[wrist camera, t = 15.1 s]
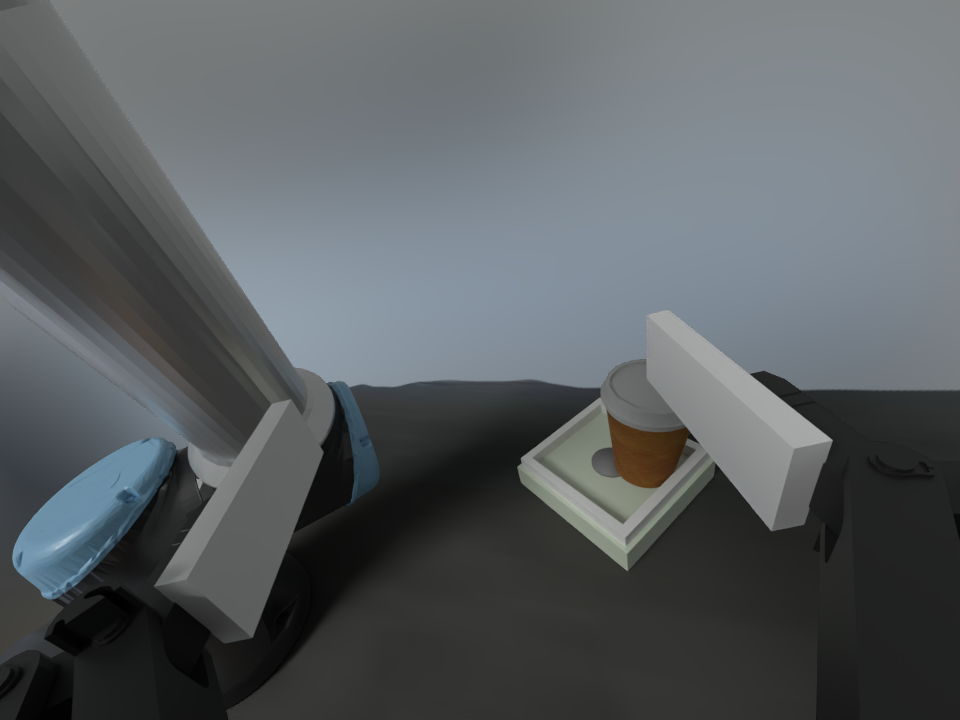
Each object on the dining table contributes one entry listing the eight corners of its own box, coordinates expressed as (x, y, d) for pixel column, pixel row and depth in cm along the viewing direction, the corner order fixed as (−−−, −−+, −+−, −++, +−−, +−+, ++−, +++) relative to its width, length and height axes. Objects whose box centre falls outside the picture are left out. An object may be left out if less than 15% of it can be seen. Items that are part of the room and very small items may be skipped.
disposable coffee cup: (589, 443, 48) (587, 366, 42) (664, 429, 48) (674, 349, 41) (618, 509, 40) (622, 426, 34) (708, 492, 40) (730, 406, 33)
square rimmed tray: (521, 482, 50) (515, 458, 48) (601, 418, 57) (599, 394, 54) (627, 571, 38) (626, 544, 36) (713, 476, 45) (717, 448, 42)
